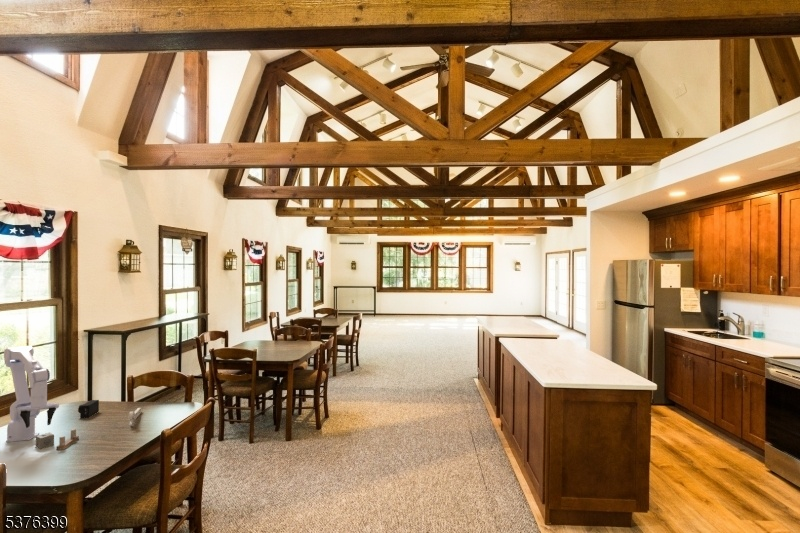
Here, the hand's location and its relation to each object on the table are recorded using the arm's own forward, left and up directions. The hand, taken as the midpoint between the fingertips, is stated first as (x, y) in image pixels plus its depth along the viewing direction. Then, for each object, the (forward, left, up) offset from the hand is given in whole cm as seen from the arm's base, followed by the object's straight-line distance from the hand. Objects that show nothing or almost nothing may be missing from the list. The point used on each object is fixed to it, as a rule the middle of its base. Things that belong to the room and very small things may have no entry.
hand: (38, 425), depth 193 cm
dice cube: (+4, -2, -9) cm, 10 cm away
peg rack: (+13, -3, -9) cm, 16 cm away
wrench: (+31, +25, -9) cm, 41 cm away
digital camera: (+2, +40, -9) cm, 42 cm away
